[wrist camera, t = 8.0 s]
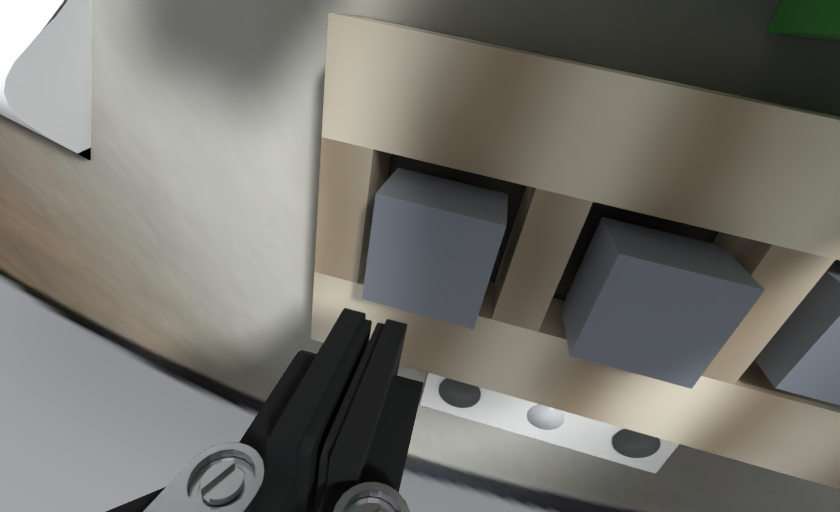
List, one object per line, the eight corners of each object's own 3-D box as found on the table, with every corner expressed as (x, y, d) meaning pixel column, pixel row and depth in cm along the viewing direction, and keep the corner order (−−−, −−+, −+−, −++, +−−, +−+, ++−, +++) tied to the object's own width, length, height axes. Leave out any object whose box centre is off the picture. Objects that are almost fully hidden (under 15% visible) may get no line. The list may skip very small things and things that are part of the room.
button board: (1114, 174, 13) (1257, 207, 11) (826, 439, 20) (871, 498, 18) (359, 15, 16) (328, 12, 13) (333, 304, 23) (310, 339, 20)
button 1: (508, 194, 16) (506, 225, 13) (479, 286, 18) (473, 329, 15) (398, 167, 16) (375, 193, 14) (383, 261, 18) (361, 298, 16)
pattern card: (688, 424, 22) (691, 431, 21) (654, 468, 24) (656, 475, 23) (433, 353, 23) (432, 358, 23) (420, 401, 25) (419, 406, 25)
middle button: (722, 245, 15) (764, 289, 12) (665, 335, 17) (691, 388, 15) (602, 216, 15) (619, 253, 13) (561, 308, 18) (569, 355, 15)
